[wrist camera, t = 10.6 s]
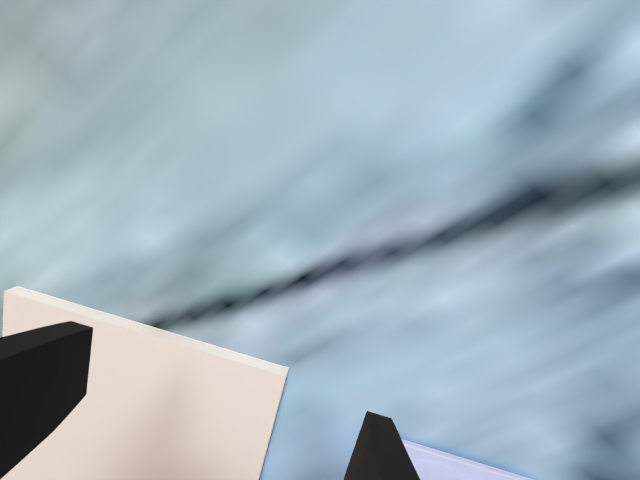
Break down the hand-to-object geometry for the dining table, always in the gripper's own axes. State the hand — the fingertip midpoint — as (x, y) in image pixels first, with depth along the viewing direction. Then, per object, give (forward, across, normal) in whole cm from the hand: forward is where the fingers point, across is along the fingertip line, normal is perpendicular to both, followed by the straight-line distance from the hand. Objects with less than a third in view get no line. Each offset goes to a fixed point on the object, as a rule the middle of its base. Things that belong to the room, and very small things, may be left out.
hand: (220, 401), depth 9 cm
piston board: (+9, +7, +17) cm, 21 cm away
